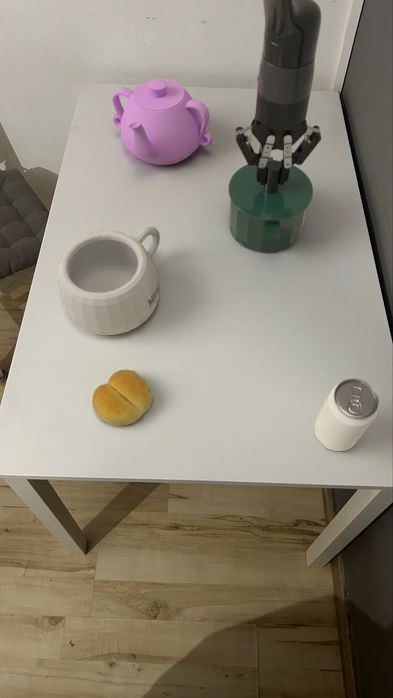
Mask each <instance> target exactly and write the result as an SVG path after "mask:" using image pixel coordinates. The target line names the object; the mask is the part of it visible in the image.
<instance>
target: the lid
mask: <svg viewBox="0 0 393 698" xmlns="http://www.w3.org/2000/svg"><path fill="white" fill-rule="evenodd" d="M281 167H282V165H281V160H277V159H273V160H267V164H266V168H267V170H266V178H265V185H260V182H257V176H256V172H257V166H256V165H253V166H250V165H248V163H247V164H245V165H243V166H241V167H240V168H238V169H237V170H236V171H235V173H234V174H233V175H232V176H231V178H230V180H229V183H228V197H229V199H231V201H232V203H233V205H234V206H235V207H236V208H237V209H238V210H239V211H240V212H242V213H243V214H245V215H246V216H249V217H251V218H253V219H256V220H261V221H267V222H277V221H284V220H288V219H291V218H294V217H296V216H298V215H299V214H301V213H302V212H303V211H304V210H305V209H306V208H307V207H309V206H310V204H311V203H312V199H313V195H314V187H313V184H312V181H311V179H310V177H309V176H308V175H307V173H305V172H304V171H303V170H301V169H300V168H299V167H298V166H297V165H296V166H295V164H294V165H292V166H291V167H290V172H289V178H288V181H287V182H284V185H279V180H280V174H281ZM307 209H308V208H307Z"/></svg>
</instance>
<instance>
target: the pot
mask: <svg viewBox="0 0 393 698" xmlns="http://www.w3.org/2000/svg"><path fill="white" fill-rule="evenodd" d="M268 160H274V157H272V156H269V158H268ZM229 199H230V198H229ZM229 202H230V203H229V230H230V233H231V235H232V237H233V239H234V241H236V242H237V243H238V244H239V245H241V246H242V247H244V248H245V249H248V250H250V251H252V252H257V253H261V254H263V253H264V254H273V253H278V252H282V251H284V250H287V249H289V248H291V247H292V246H293V245H294V244H296V242H297V241H298V240H299V239H300V237H301V235H302V231H303V229H304V226H305V221H306V216H307V211H308V207H309V206H308V207H307V208H306V209H305V210H304V211H303V212H302V213H301V214H299V215H298V216H296V217H294V218H291V219H288V220H284V221H277V222H267V221H261V220H256V219H253V218H251V217H249V216H246V215H245V214H243V213H242V212H240V211H239V210H238V209H237V208H236V207H235V206H234V205H233V203H232V201H231V199H230V201H229Z"/></svg>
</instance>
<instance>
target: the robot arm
mask: <svg viewBox="0 0 393 698" xmlns="http://www.w3.org/2000/svg"><path fill="white" fill-rule="evenodd" d="M262 5H263V14H264V30H263V31H264V32H263V40H262V41H263V42H262V52H261V59H260V62H259V68H258V74H257V88H256V101H255V113H254V118H253V119H252V121H251V124H250V125H249V126H246V127H245V128H243V127H242V126H237V127H236V128H235V142H236V143H237V146H238V148H239V150H240V151H241V153H242V156H243V158H244V159H245V161H246V163H247V164H248V165H250V166H253V165H256V166H257V172H256V176H257V182H260V185H265V178H266V170H267V168H266V164H267V160H268V158H269V157H271V153H272V151H275V150H278V151H282V159H280V161H281V165H282V167H281V174H280V180H279V185H284V182H287V181H288V178H289V172H290V167H291V166H292V165H294V166H295V165H296V166H301V165H303V163H304V162H305V161H306V160H307V159H308V157H309V156H310V155H311V153H312V152H313V151H314V149H315V148H316V147H317V146H318V144H319V143H320V142H321V140H322V135H321V129H320V126H319V125H317V124H316V125H313V126H311V125H308V121H307V114H308V110H309V109H308V108H309V103H310V99H311V98H310V97H311V92H312V88H313V81H314V74H315V66H316V65H315V62H316V54H317V48H318V42H319V38H320V37H319V36H320V32H321V25H322V10H321V8H320V5H319V4H318V3H317V2H316V1H315V0H262ZM252 135H253V137H254V138H255V139H256V140H257V142H258V143H259V150H258V153H257V152H256V151H255V150H254V147H253V145H252V144H251V142H252ZM302 137H304V138H303V139H302V140H301V142H300V143H299V145H298V146H297V147H296V149H295V150H294V151H293V146H294V145H295V144H296V143H297V142H298V141H299V140H300V139H301V138H302Z"/></svg>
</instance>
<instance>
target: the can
mask: <svg viewBox="0 0 393 698" xmlns="http://www.w3.org/2000/svg"><path fill="white" fill-rule="evenodd" d="M379 402H380V400H379V396H378V393H377V391H376V390H375V388H374V387H373V386H372V385H371V384H370V383H368V382H367V381H365V380H363V379H359V378H347V379H343V380H342V381H340V382H339V383H337V384H336V385H335V386H333V388H332V389H331V390H330V392H329V394H328V395H327V397H326V399H325V400H324V403H323V405H322V407H321V408H320V412H319V413H318V415H317V417H316V420H315V423H314V433H315V436H316V438H317V440H318V441H319V443H320V444H321V445H322V446H324V448H326V449H327V450H328V449H329V450H331V451H334V452H335V451H336V452H344V451H348V450H350V449H351V448H353V447H354V446H355V445H356V444H357V443H358V441H359V440H360V439H361V438H362V436H363V435H364V433H365V432H366V431H367V429H368V428H369V427H370V426H371V424H372V423H373V422H374V420H375V419H376V417H377V415H378V412H379V405H380V403H379Z"/></svg>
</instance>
